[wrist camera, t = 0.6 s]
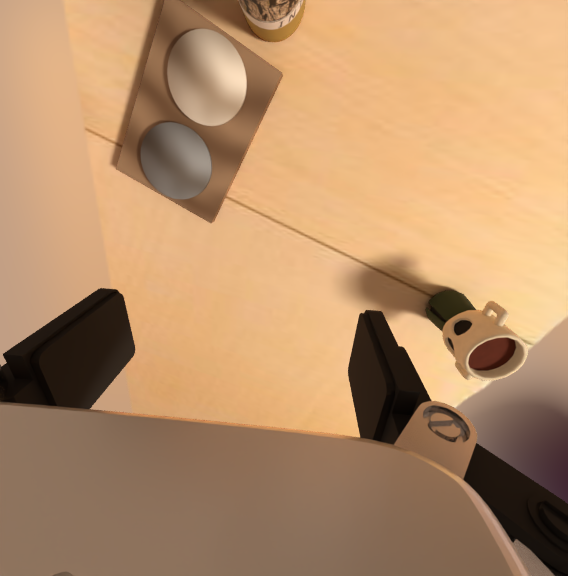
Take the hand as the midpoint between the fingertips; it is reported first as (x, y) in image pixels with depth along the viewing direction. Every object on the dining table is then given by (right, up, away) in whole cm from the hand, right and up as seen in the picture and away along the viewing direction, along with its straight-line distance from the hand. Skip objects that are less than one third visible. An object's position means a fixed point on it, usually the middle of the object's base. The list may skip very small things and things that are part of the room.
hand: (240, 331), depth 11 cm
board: (-10, +23, +25) cm, 35 cm away
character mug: (+28, -1, +34) cm, 44 cm away
